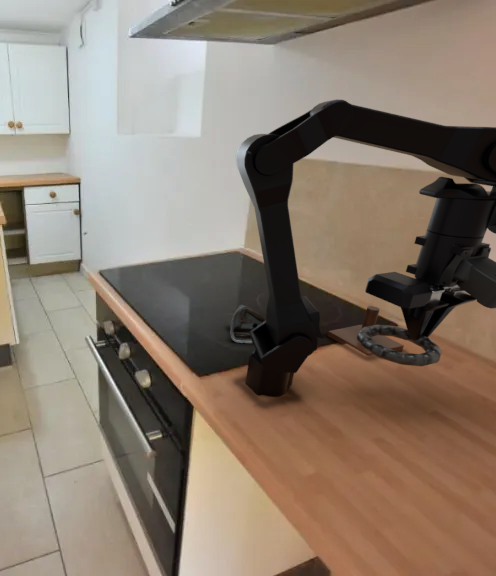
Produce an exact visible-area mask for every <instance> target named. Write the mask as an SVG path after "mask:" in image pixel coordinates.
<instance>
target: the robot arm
mask: <svg viewBox="0 0 496 576" xmlns="http://www.w3.org/2000/svg"><path fill="white" fill-rule="evenodd" d="M333 138H335V139H338V140H343V141H347V142H352V143H355V144H360V145H364V146H369V147H373V148H376V149H377V148H378V149H381V150H386V151H389V152H390V151H391V152H393V153H399V154H403V155H407V156H411V157H414V158H416V159H417V160H420V161H421V162H423V163H424V164H426V165H428V166H429V167H431V168H433V169H436V170H438V171H440V172H442V173H444V174H447V175H449V176H452V177H460V178H464V179H465V180H466V181H468V182H469V183H466V182H465V183H464V182H463V183H459V182H457V183H456V182H455V181H454V179H453V178H452V177H447V176H439V177H437V179H436V180H434V181H433V182H431V183H429V184H427V185H425V186H424V187H422V188H420V189H419V191H418V194H420V195H422V196H427V197H429V198H430V197H431V198H435V202H434V205H433V208H432V211H431V214H430V217H429V221H428V225H427V227H426V231H425V234H424V235H417V236H415V240H414V243H413V244H414V245H418V246H420V250H419V253H418V256H417V259H416V263H414V264H413V263H412V264H407V266H406V269H405V273H408V274H410V275H414V277H412V276H409V275H406V274H403V273H400V272H398V271H390V272H383V273H375V274H374V275H372V276H370V277H368V278H367V282H366V286H365V289H364V290H365V293H366V294H368V295H370V296H373V297H375V298H378V299H380V300H382V301H385V302H387V303H389V304H392V305H394V306H396V307H399V308H400V310H401V312H402V315H403V319H404V323H405V326H406V329H407V330H408V333H409V337H410V338H412V339H414V340H418V339H419V338H420V337H421V335H423V336H426V337H428V338H429V337H430V336H431V335H432V334H433V333H434V332H435V330H436V329H437V328H438V327H439V326H440V325H441V324H442V323H443V321H444V320H445V319H446V317H447V316H448V315H449V314H450V313H451V312H452V311H453V310H454V309H456V307H459V306H461V305H465V304H468V303H471V302H475V301H476V302H477V303H478V304H479V305H481V306H483V307H485V308H489V309H496V261H495V260H493V259H491V258H490V257H489V256H490V253H491V251H492V248H491V247H490V246H491V244H490V243H486V242H483V241H484V238H485V235H486V233H487V231H488V230H489V231H490V232H491V233H493V234H496V126H495V127H494V126H465V125H464V126H462V125H443V124H439V123H435V122H430V121H426V120H421V119H417V118H414V117H413V118H412V117H408V116H404V115H400V114H395V113H391V112H386V111H383V110H378V109H374V108H369V107H365V106H361V105H356V104H352V103H350V102H348V100H345V99H332V100H327V101H323V102H320V103H318V104H316V105H315V106H313V108H311V109H310V110H308V111H307V112H305V113H303V114H301V115H300V116H298V117H296V118H294V119H292V120H290V121H288V122H286V123H285V124H283V125H280V126H279V127H277V128H275V129H273V130H272V131H270V132H269V133H258V134H253V135H251V136H249V137H246V139H244V141H243V142H241V144H240V145H239V147H238V148H237V151H236V154H235V164H236V167H237V170H238V173H239V175H240V178H241V180H242V183H243V185H244V188H245V190H246V192H247V194H248V196H249V199H250V200H251V202H252V205H253V208H254V213H255V214H254V215H255V218H256V219H255V221H256V225H257V231H258V236H259V243H260V247H261V254H262V259H263V265H264V269H265V270H264V271H265V276H266V283H267V287H268V293H269V295H268V299H267V300H268V301H267V305H266V312H265V315H266V316H265V317H266V321H265V322H263V323H262V324H260V325H259V326H258V327H256V328H255V329H253V330H252V331H250V336H251V340H252V343H251V344H253V346H254V348H255V349H254V351H253V352H252V353H250V354H249V357H248V364H247V370H246V376H245V383H244V384H245V385H246V387H248V388H249V389H250V390H251V391H252V392H253V393H255V395H256V396H265V397H273V398H276V397H277V398H278V397H281V396H283V395H285V394H286V392H287V389H290V388H291V387H292V385H293V379H294V376H295V375H294V374H296V373H298V371H299V370H300V369H301V367H302V365H303V364H304V362H305V361H306V360H307V358H308V357H309V356H311V355H312V354H313V353H314V352H315V351H317V350H318V348H319V342H320V341H319V339H323V338H324V335H323V334H322V332H321V329H320V323H321V316H320V312H319V310H318V309H317V308H316V307H315V306H314V305H313V303H312V302H311V301H310V299H309V298H308V297H307V296H306V295H303V296H302V293H301V286H300V279H299V273H298V266H297V258H296V252H295V251H296V250H295V245H294V238H293V237H294V236H293V231H292V224H291V223H292V222H291V217H290V209H289V199H290V194H291V189H292V185H293V181H294V164H295V163H297V162H299V161H300V160H302V159H304V158H306V157H308V156H309V155H311V154H312V153H313V152H314V151H315V150H317V149H319V148H321V146H322V145H325V143H326V142H328V141H330V140H331V139H333ZM483 186H487V187H491V189H490V191H489V190H486V189H485V187H483Z"/></svg>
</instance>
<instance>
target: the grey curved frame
mask: <svg viewBox="0 0 496 576" xmlns="http://www.w3.org/2000/svg"><path fill="white" fill-rule="evenodd" d="M265 321H266V316H265V315H263V314H262V313H259V312H258V311H256V310H254V309H252V308H250V307H248V306H247V305H245V304H239V305H238V308H237V309H236V310H235V311H234V314H233V315H232V319H231V321H230V324H229V328H230V329H229V335H230V337H231V339H232V341H234V342H235V343H241V344H243V343H245V344H253V343H252V340H251V336H250V331H252V330H253V329H255V328H256V327H258V326H259V325H260V324H262V323H263V322H265Z"/></svg>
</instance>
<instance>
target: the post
mask: <svg viewBox="0 0 496 576" xmlns="http://www.w3.org/2000/svg"><path fill="white" fill-rule="evenodd" d="M380 311H381V310H380V308H379V307H377V306H374V305H372V306H371V305H368V306H367V307H366V310H365V313H364V318H363V320H362V324H357V325H352V326H347V327H341V328H338V329H332V330H328V332H327V337H328V338H330V339H332V340H333V341H335V342H336V343H338V344H340V345H343V346H344V345H349V346H350V347H352V348H354V349H355V350H357V351H358V352H360V353H363V354H364V355H366V356H372V355H374V354H372V353H370V352H369V351H367V350H365V349H364V348H363V347H362V345H361V344H360V342H359V341H358V340H357V335H358V334H359V332H360V331H361V329H362V328H364V327H368V326H373V325H377V320H378V318H379V317H378V316H379V313H380ZM371 338H372V340H373V341H374V342H376V343H378V344H380V345H382V346H383V347H385V348H389V349H392V350H395V351H399V352H402V351H403V349H404V346H405V345H404V344H403V343H400V342H398V341H396V340H394V339H392V338H390V337H389V336H381V335H378V336H373V337H371Z"/></svg>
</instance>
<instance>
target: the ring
mask: <svg viewBox="0 0 496 576" xmlns="http://www.w3.org/2000/svg"><path fill="white" fill-rule="evenodd" d="M378 335H381V336H386V337H393V338H397V339H400V340H404V341H408V342H410V343H412V344H414V345H416V346H418V347H420V348H421V349H422V350H423V351H425V352H422V353H413V352H411V353H410V352H402V351H395V350H392V349H389V348H385V347H383V346H382V345H380V344H378V343H376V342H374V341H373V340H372V338H371V337H373V336H378ZM357 340H358V341H359V342H360V344H361V345H362V347H363V348H364V349H365V350H367V351H369V352H370V353H372V354H373V355H374V356H376V357H377V358H379V359H381V360H384V361H388V362H392V363H395V364H397V365H400V366H401V365H403V366H412V367H425V366H429V365H434V364H437V363H439V361H440V359H441V356H442V352H443V351H442V349H441V347H440V346H439V345H438V344H436V343H435V342H434V340H433V339H431V338H429V337H426V336H423V335H421V337H420V338H419V339H418V340H414V339H412V338H410V337H409V333H408V330H407V328H404V327H400V326H396V325H386V324H375V325H373V326H368V327H364V328H362V329H361V331H360V332H359V334H358V335H357Z"/></svg>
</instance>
